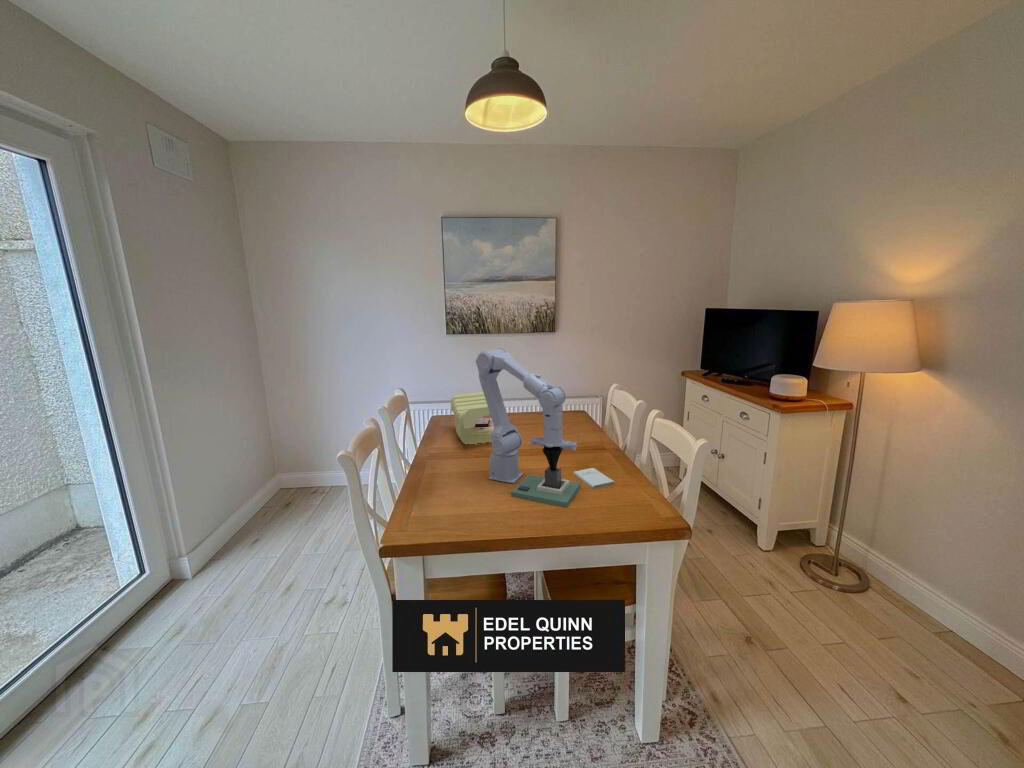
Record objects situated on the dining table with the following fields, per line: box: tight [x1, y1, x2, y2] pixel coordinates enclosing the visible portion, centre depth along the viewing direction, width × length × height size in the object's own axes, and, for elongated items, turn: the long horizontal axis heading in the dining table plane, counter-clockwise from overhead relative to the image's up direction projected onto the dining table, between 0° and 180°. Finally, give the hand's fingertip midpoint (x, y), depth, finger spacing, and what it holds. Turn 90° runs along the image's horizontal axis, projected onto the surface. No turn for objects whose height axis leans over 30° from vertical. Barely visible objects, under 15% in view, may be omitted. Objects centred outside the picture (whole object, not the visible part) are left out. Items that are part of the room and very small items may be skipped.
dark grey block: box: [544, 465, 562, 489], centre depth 125 cm, size 4×4×6 cm
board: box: [510, 473, 582, 508], centre depth 126 cm, size 18×14×3 cm
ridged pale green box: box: [450, 391, 493, 446], centre depth 176 cm, size 30×16×18 cm, turn 18°
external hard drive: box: [573, 467, 615, 490], centre depth 135 cm, size 2×8×12 cm
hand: (553, 468), depth 125 cm, fingers closed, pressing on dark grey block
